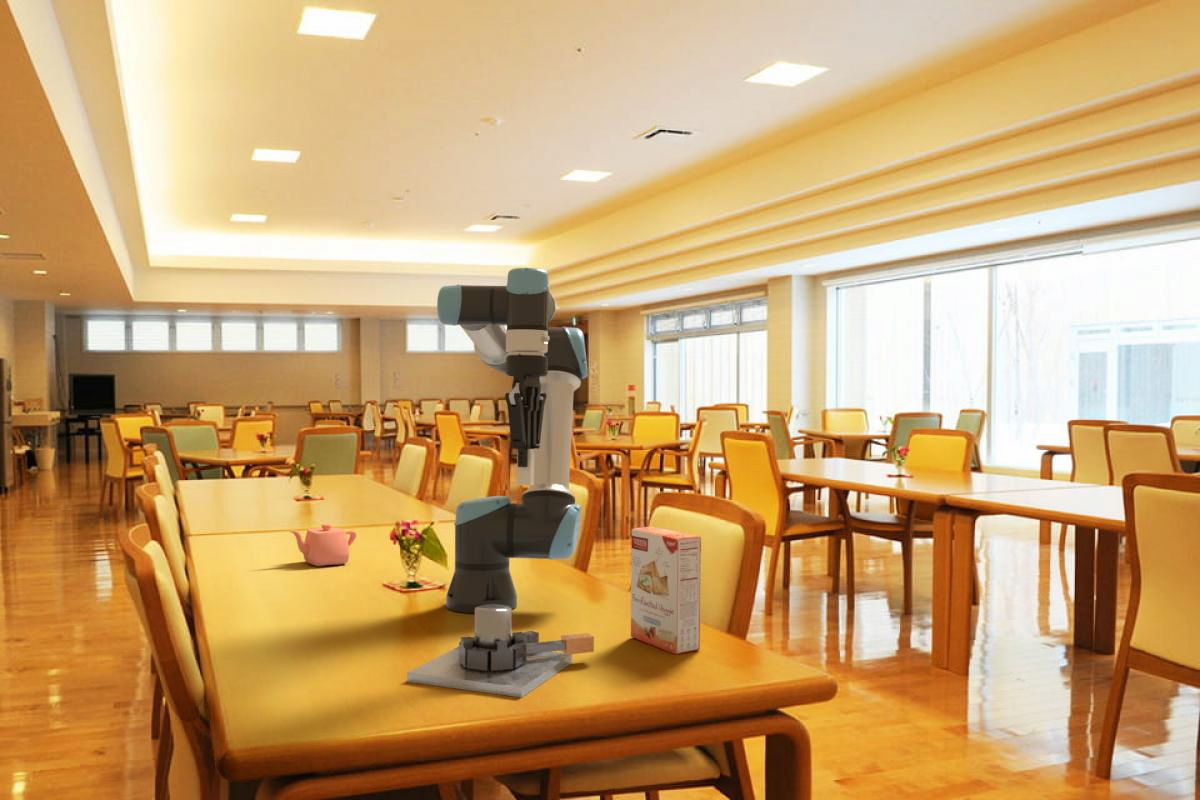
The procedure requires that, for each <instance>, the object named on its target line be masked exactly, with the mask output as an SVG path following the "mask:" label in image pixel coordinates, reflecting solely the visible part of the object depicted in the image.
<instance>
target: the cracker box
mask: <svg viewBox="0 0 1200 800" xmlns="http://www.w3.org/2000/svg"><path fill="white" fill-rule="evenodd" d="M701 554H702V537H701V536H700V535H699V536H698V535H694V534H690V533H686V532H681V531H677V530H676V531H675V530H671V529H667V528H663V527H658V526H645V527H643V526H642V527H634V528H632V529H631V561H630V562H631V563H630V564H631V569H630V570H631V571H630V572H631V573H630V575H631V577H630V578H631V579H630V580H631V581H630V583H631V585H630V587H631V588H630V589H631V590H630V637H631V638H633V639H635V638H636V640H638V641H641V642H643V643H646V644H648V645H651V646H654V647H656V648H658V649H660V650H661V649H662V650H664V651H666V652H668V653H671V654H674V655H680V654H684V653H685V654H686V653H690V652H695V651H696V652H697V651H700V648H701V576H702V573H701V571H702V570H701V568H702V566H701V564H702V562H701V561H702V560H701V558H702V557H701V556H702V555H701Z"/></svg>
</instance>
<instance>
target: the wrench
mask: <svg viewBox="0 0 1200 800" xmlns="http://www.w3.org/2000/svg"><path fill="white" fill-rule="evenodd" d="M524 636H525V634H524V633H523V632H522V631H518V632H517V631H516V632H515V631H514V632H511V646H510V647H508V648H507V643H506V642H505V641H495V649H484V648H476V647H474V646H475V635H473V636H462V637H460V641H459V643H458V647H459V662H460V663H461V664H462V665H463V666H464V667H467V668H470V669H477V670H485V671H488V670H491V671H495V670H504V669H513V668H516V667H518V666H520V665H522V664H523V663H525V662H526V654H532V653H542V652H561V653H565V654H566V655H568V654H572V655H577V654H586V653H594V650H595V646H594V645H595V636H594V635H592V634H591V633H590V632H587V633H586V632H585V633H576V634H564V635H560V639H559V640H550V641H548V640H547V641H539V642H537V643H526V642H525V641H524Z"/></svg>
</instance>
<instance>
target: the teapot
mask: <svg viewBox="0 0 1200 800" xmlns="http://www.w3.org/2000/svg"><path fill="white" fill-rule="evenodd" d="M289 532H290V533H292V534H293V535H294V536H295V538H296V544H297V548H298V550H299V551H300V552H301V553H302V554H303V559H304V561H305V562H306V563H307V564H309V565H313V566H315V567H318V566H319V567H324V566H330V565H331V566H332V565H333V566H340V565H342V564H347V563H348V562H349V560H350V546H351V545H352V544H353V542H355V540H356V538H357V534H358V533H357V531H355V530H343V529H341V528H338V527H332V524H331V523H324V524H321V527H320V528H319V527H318V528H308V529H307V531H306V534H305V538H304V540H303V536H302V534H301V533H300V532H299V531H297V530H289ZM347 535H349V538H348V536H347Z"/></svg>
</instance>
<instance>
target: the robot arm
mask: <svg viewBox="0 0 1200 800" xmlns="http://www.w3.org/2000/svg"><path fill="white" fill-rule="evenodd" d="M549 279H550V278H549V273H548V271H547V270H545V269H543V268H536V267H516V268H512V269H510V270H509V271H508V273H507V279H506V280H507V283H506V285H469V284H468V285H467V284H466V285H465V284H464V285H462V284H456V285H455V284H454V285H444V286H442V287H440V289H439V291H438V295H437V301H436V302H437V304H436V305H437V306H436V309H437V315H438V320H439V321H440V322H441V323H442V324H443V325H449V326H460V327H461V329H462V330H463V331H464V332H465V334H466V335H467V336H468V337H469V339H470V340H471V341H472V343H473V345H474V351H475V353H476V356H478V358H479V359H480V360H481V362H482V363H484V364H485V365H487V366H488V367H489V368H491V369H494V370H495V371H497V372H500V373H502V374H505V375H506V376H508V377H512V378H513V380H512V385H511V392H505V394H504V399H505V402H506V405H507V414H508V422H509V423H508V424H509V435H510V445H511V449H512V450H513V449H514V450H517V451H516V453H517V454H516V457H517V458H516V486H527V487H528V486H529V487H528V489H526V490H525V491H524V492H523V493H522V494H521V502H519V503H517V502H516V503H515V502H513V503H512V499H511V498H510V496H508V495H495V496H487V497H479V498H472V499H469V500H468V499H467V500H464V501H462V502H460V503H459V504H458V505H457V506H456V509H455V522H454V526H455V527H454V571H453V575H452V578H451V582H450V584H449V586H448V588H447V589H448V590H447V593H446V596H445V597H446V598H445V607H446V609H448V610H450V611H453V612H458V613H466V614H475V608H476V607H478V606H481V605H490V604H499V605H506V606H510V607H511V608H512V610H513V609H515V608H516V607H517V606H518V595H517V590H516V586H515V584H514V581H513V577H512V574H511V572H510V559H538V560H540V559H544V560H551V561H553V560H564V559H566V560H567V559H570V558H571V557H572V556H573V555H574V553H575V551H576V549H577V546H578V541H579V536H580V531H581V525H582V524H581V521H582V520H581V519H582V506H581V505H580V504H578V503H576V496H575V495H574V494H573V493H572V491H570V475H571V474H570V473H571V472H570V471H571V470H570V469H571V455H572V454H571V453H572V452H571V451H572V436H573V435H572V432H573V430H572V429H573V410H574V393H575V391H576V390H578V389H579V388H580V387H581V384H582V379H583V380H584V379H586V378H587V377H588V376H589V375H588V364H587V354H586V344H585V336H584V332H583V331H582V330H581V329H580V328H578V327H567V326H561V327H560V326H559V327H558V326H557V327H556V326H554V327H552V326H550V327H549V323H550V322H551V321H552V319H553V318H554V316H555V313H556V308H557V306H556V300H555V299H554V296H553V294H552V293H551V291H550V290H549V289H550V281H549Z"/></svg>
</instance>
